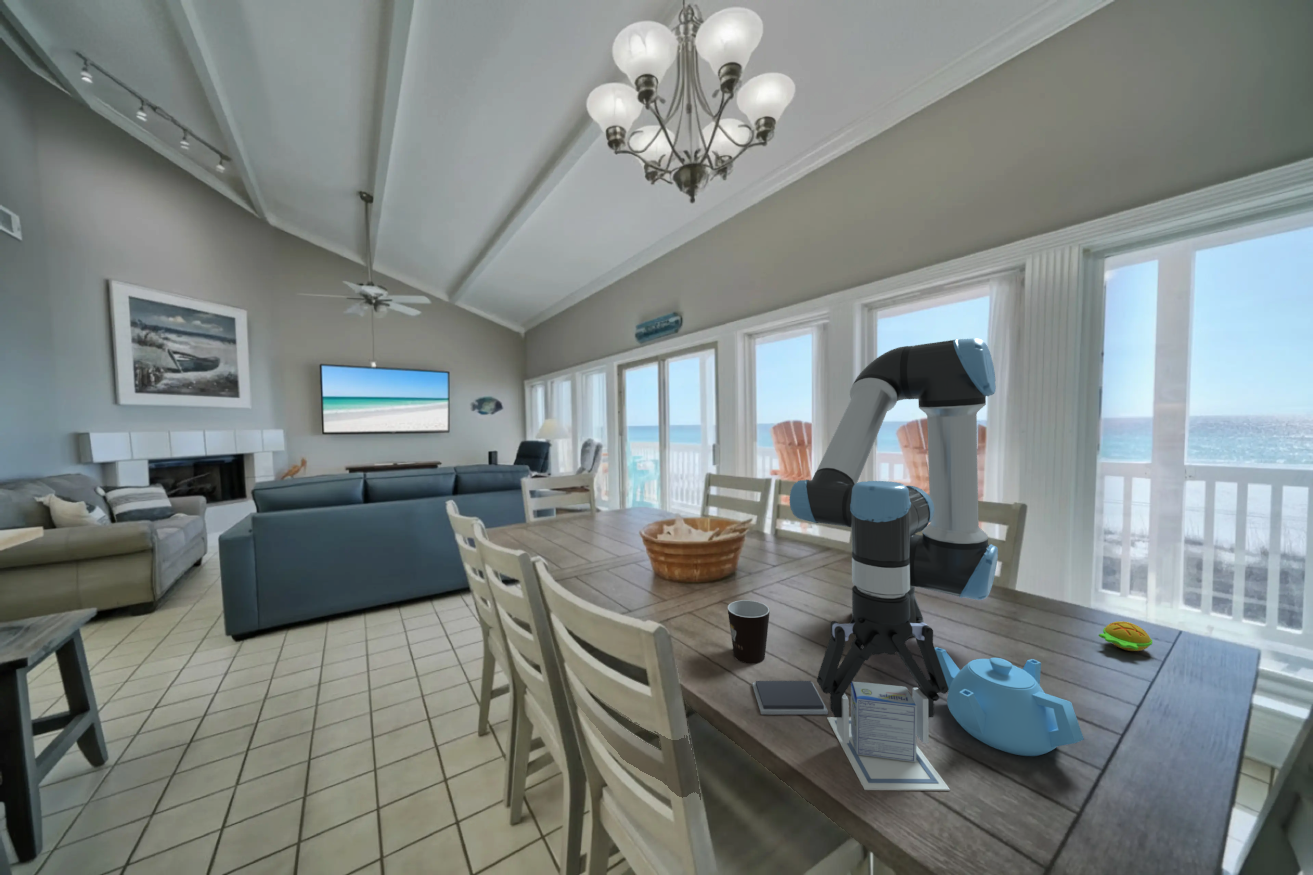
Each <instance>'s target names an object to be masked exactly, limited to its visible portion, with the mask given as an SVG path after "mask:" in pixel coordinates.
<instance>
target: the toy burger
mask: <svg viewBox="0 0 1313 875" xmlns="http://www.w3.org/2000/svg"><path fill="white" fill-rule="evenodd" d="M1098 636H1099V637H1100V638H1102V639H1104V641H1105V642H1107V643H1111V644H1112V645H1114V646H1115V647H1116V648H1117V647H1118V648H1119V649H1121V650H1125V651H1128V652H1129V651H1130V652H1139V651H1140V652H1141V651H1144V650H1146V649H1148V648H1149V647H1150V646H1152V644H1153V639H1152V638H1151V637H1150V635H1149V633H1147V632H1146V631H1145V629H1144V628H1142V627H1140V626H1139V625H1137V624H1134V623H1133V622H1129V621H1122V620H1121V621H1120V620H1119V621H1113V622H1110V623H1109V624H1107V625H1106V626H1105V627H1104V628H1103V630H1102V633H1099V634H1098Z"/></svg>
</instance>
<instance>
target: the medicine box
mask: <svg viewBox="0 0 1313 875" xmlns="http://www.w3.org/2000/svg"><path fill="white" fill-rule="evenodd" d="M850 717H851V734H852V738H853V741H854V745H855V749H856V753H857V755H865V756H873V757H880V758H888V759H895V760H903V761H910V762H916V745H917V735H916V732H917V706H916V704H915V702H914V700H913V696H912V694H910V692H909V690H908V688H907V687H906V686H901V685H891V684H882V683H872V682H863V681H862V682H861V681H854V680H852V682H851V684H850Z"/></svg>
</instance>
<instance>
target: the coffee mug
mask: <svg viewBox="0 0 1313 875" xmlns="http://www.w3.org/2000/svg"><path fill="white" fill-rule="evenodd" d="M770 614H771V613H770V607H769V605H767V604H765V603H763V602H761V601H760V602H759V601H757V600H749V599H741V600H736V601H732V602H730V603H729V604H728V605H727V615H728V622H729V629H730V637H731V642H732V643H731V644H732V651H733V657H734V658H735V659H736V660H737V661H739V662H741V663H744V664H748V665H749V664H750V665H754V664H755V665H756V664H760V663H762V662H763V661H764V660H765V659H766V650H767V643H768V642H767V639H768V633H769V632H768V631H769V621H770Z"/></svg>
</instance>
